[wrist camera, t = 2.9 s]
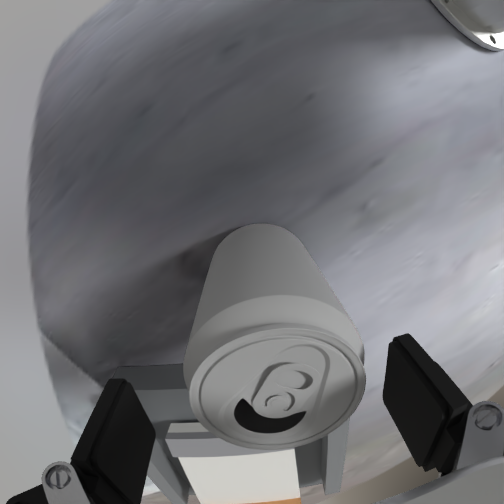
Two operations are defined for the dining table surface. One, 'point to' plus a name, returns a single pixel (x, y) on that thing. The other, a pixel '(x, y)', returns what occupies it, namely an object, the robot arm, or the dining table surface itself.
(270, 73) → the dining table surface
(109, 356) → the dining table surface
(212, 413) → the beverage can
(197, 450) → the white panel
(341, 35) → the dining table surface
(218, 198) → the dining table surface
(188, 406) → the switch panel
